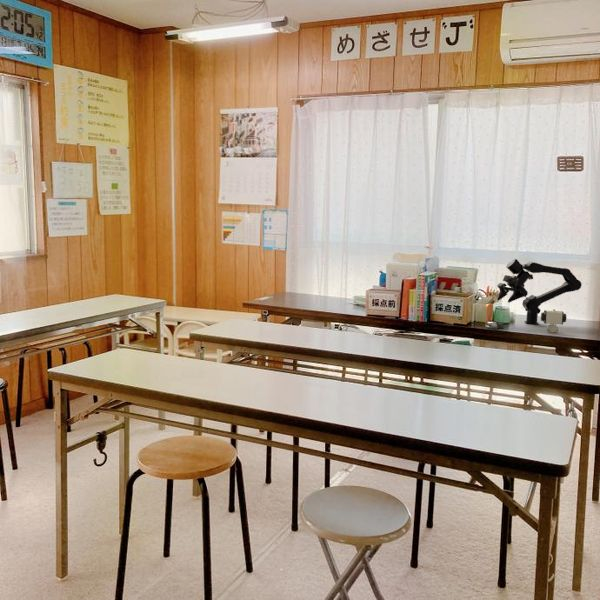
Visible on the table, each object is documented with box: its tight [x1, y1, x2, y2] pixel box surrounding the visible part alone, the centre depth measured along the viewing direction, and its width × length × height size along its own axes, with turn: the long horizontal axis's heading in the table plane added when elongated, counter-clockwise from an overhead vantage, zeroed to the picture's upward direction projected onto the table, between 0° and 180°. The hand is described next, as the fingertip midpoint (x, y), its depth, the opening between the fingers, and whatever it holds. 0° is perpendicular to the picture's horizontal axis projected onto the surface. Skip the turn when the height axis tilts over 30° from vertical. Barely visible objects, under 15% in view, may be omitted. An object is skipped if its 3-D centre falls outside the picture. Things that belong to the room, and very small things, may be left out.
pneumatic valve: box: [540, 308, 567, 333], centre depth 320 cm, size 6×12×12 cm, turn 76°
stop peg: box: [497, 322, 504, 329], centre depth 329 cm, size 3×3×3 cm
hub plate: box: [484, 324, 500, 330], centre depth 330 cm, size 7×7×1 cm
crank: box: [485, 303, 498, 327], centre depth 332 cm, size 13×4×11 cm, turn 177°
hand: (503, 301), depth 338 cm, fingers open, 8 cm apart
